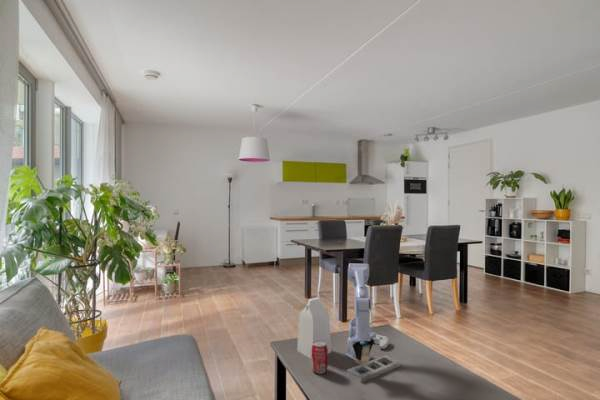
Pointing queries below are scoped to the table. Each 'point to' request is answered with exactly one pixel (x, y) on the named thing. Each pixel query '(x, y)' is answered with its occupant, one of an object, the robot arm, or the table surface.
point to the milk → (313, 327)
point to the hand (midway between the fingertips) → (362, 357)
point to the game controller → (381, 341)
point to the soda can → (319, 357)
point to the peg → (364, 354)
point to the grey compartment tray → (370, 372)
